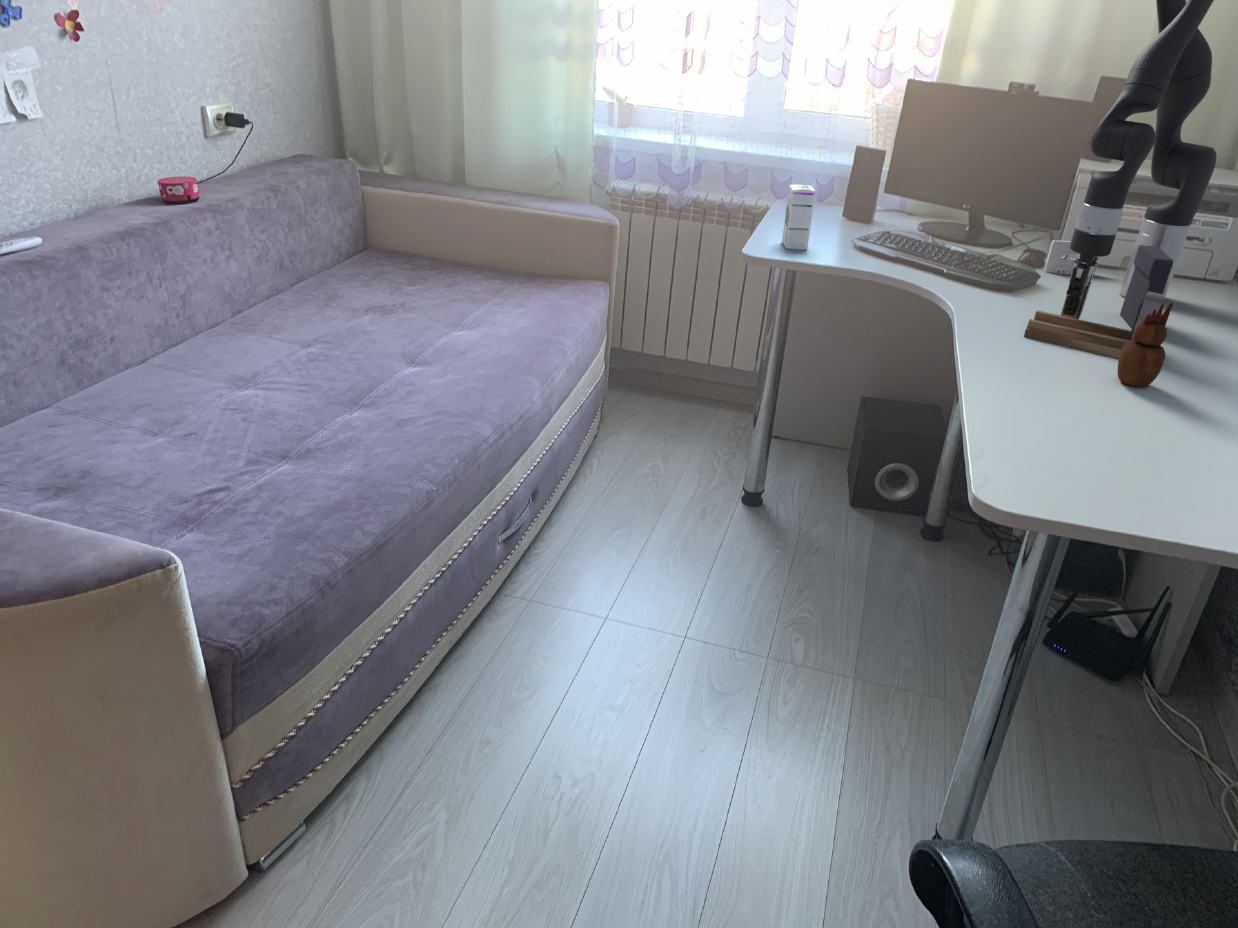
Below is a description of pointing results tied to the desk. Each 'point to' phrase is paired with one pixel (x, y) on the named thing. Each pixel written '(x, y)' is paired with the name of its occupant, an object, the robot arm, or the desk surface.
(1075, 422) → the desk surface
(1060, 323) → the rail
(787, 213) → the syrup box
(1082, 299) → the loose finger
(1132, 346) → the wooden figurine
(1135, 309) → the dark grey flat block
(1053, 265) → the cassette
